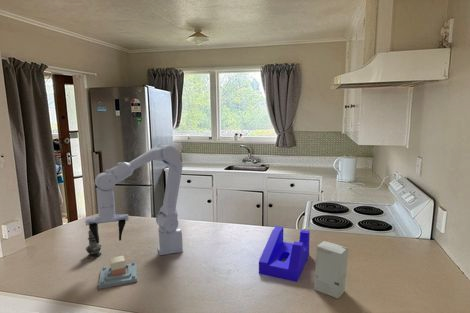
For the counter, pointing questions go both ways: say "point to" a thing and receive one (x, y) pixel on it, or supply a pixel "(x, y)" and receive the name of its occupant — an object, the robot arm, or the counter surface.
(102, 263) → the counter surface
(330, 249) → the skincare box
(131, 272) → the base plate
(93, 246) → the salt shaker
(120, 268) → the cream and red block
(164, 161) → the robot arm
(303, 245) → the bracket
